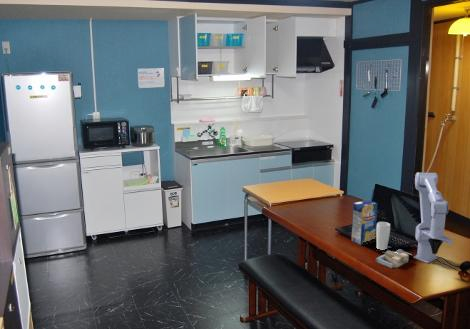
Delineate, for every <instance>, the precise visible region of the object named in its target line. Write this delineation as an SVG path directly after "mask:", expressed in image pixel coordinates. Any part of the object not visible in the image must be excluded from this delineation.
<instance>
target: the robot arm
mask: <svg viewBox="0 0 470 329" xmlns="http://www.w3.org/2000/svg"><path fill="white" fill-rule="evenodd" d="M414 176H415V178H414V185H415V187H414V188H415V189H416V190H417V191H418V193H419V194H418V195H419V204H420V206H419V207H420V219H421V220H420V221H421V223H419V224H417V225H416V226H415V233H414V236H415V240H416V241H417V244H418V245H417V251H416V252H417V253H416V255H414V256H413V258H414V259H416V260H417V261H421V262H424V263H427V264H429V263H431V262H433V261H435V260H436V259H438V256H437V254H438V252H439V250H440V247H441V245H442V244H443V243H447V244H448V245H453V242H454V240H453V239H452V238H450V237H448V236H446V235H445V234H444V233H445V225H446V224H445V223H446V215H448V213H449V209H450V207H449V203H448V201H447V200H445V199H444V197H443V194H442V192H441V191H439V190H438V187H437V184H438V182H439V175H438V173H436V172H416V173H415V174H414Z"/></svg>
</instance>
